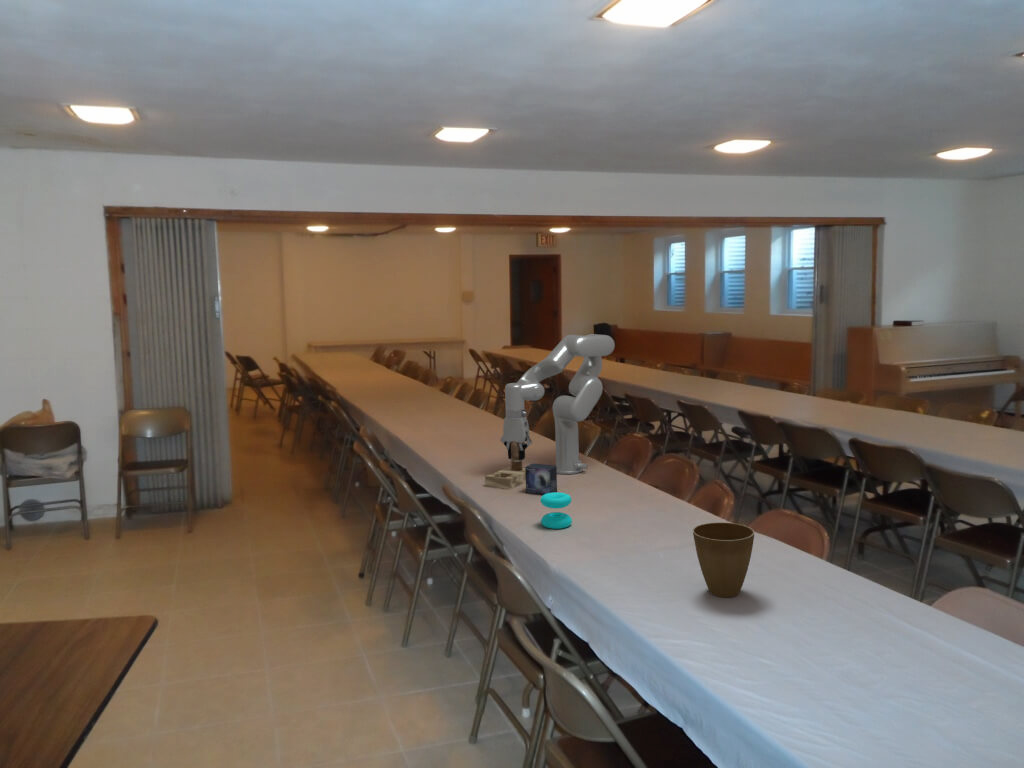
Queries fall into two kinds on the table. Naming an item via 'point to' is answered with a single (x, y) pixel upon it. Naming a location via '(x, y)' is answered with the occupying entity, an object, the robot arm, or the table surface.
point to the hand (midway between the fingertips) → (516, 458)
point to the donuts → (556, 518)
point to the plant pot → (724, 555)
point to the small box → (541, 479)
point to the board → (506, 478)
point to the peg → (515, 457)
